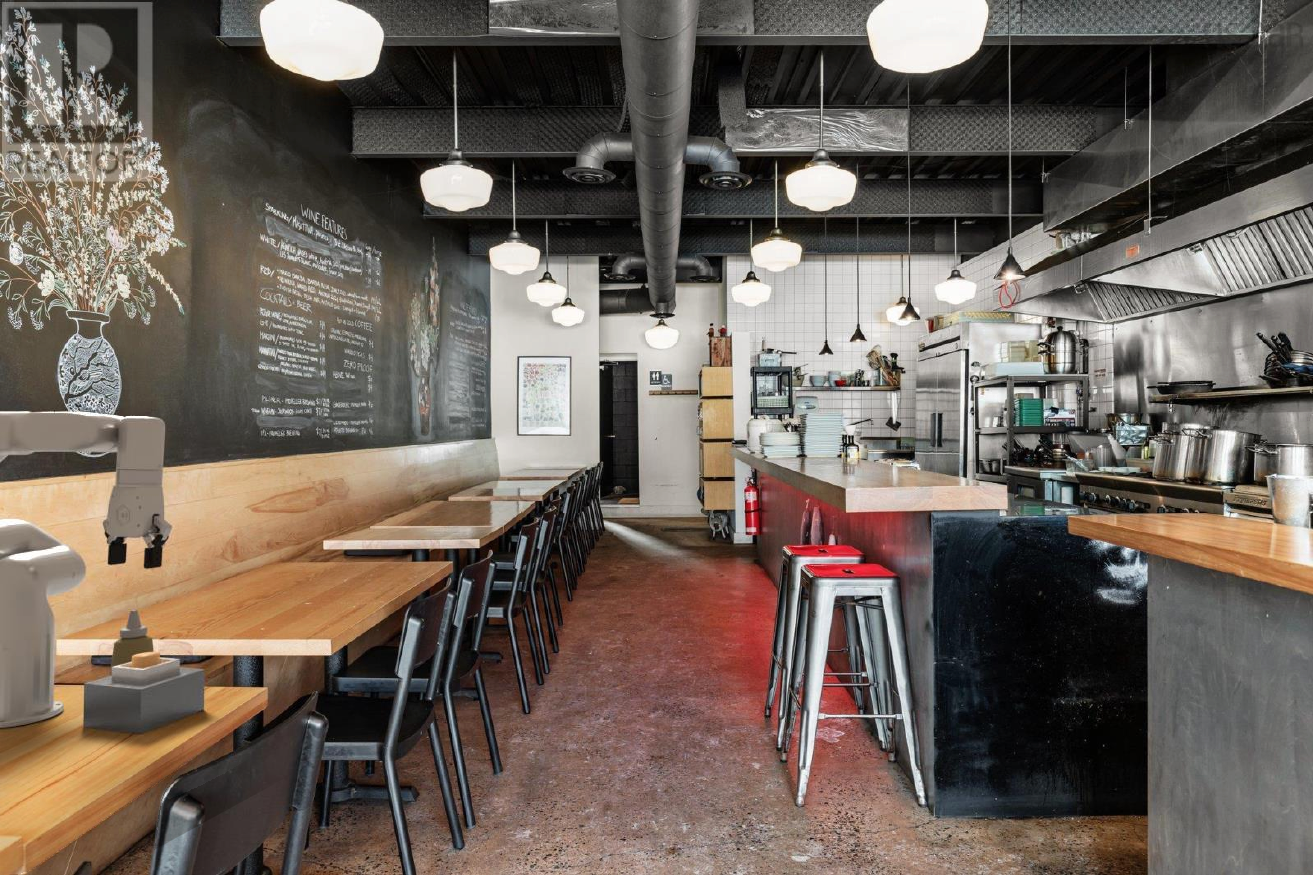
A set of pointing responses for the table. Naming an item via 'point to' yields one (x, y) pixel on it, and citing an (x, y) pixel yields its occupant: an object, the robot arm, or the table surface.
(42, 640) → the robot arm
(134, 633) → the squeeze bottle
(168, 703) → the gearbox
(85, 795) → the table surface
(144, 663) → the orange cylinder
